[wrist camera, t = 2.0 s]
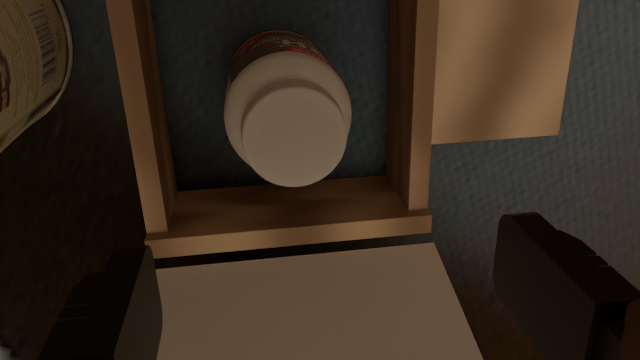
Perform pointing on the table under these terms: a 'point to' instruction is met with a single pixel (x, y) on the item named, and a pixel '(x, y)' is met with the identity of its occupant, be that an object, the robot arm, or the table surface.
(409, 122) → the open wooden box
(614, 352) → the robot arm
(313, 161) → the pill bottle
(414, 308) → the lid
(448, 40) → the flat wooden board
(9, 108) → the coffee can
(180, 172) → the table surface
